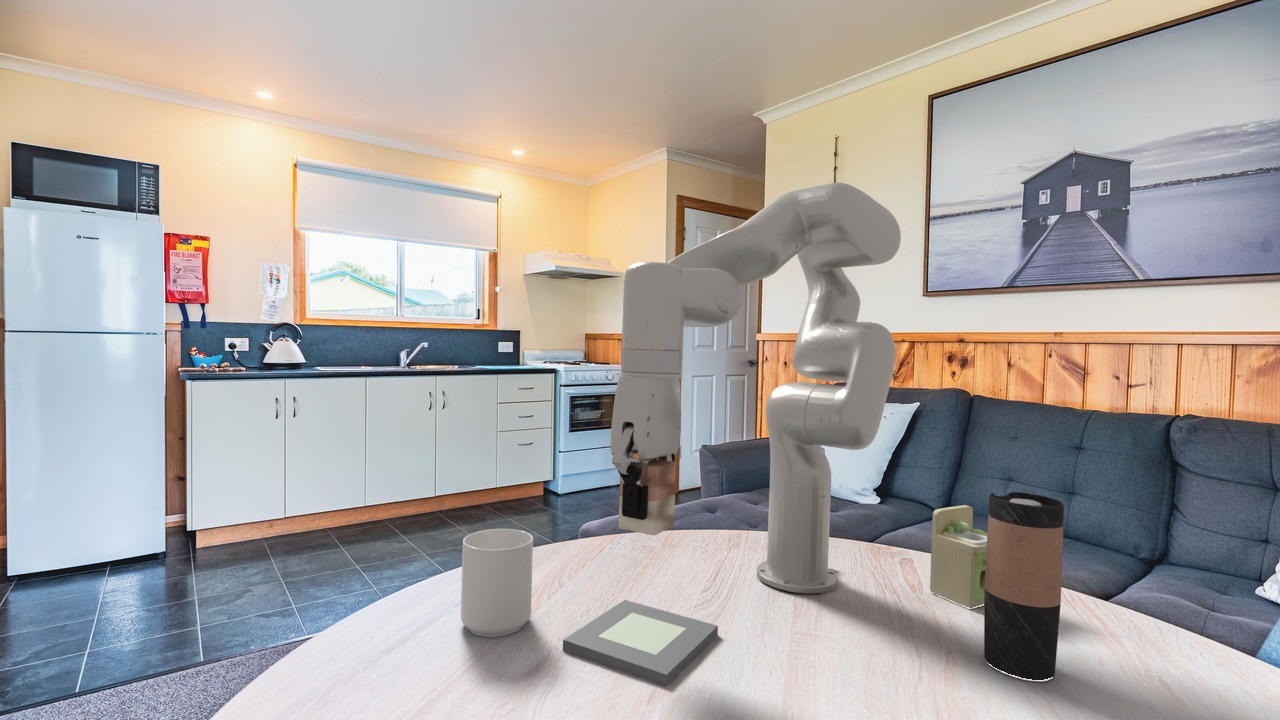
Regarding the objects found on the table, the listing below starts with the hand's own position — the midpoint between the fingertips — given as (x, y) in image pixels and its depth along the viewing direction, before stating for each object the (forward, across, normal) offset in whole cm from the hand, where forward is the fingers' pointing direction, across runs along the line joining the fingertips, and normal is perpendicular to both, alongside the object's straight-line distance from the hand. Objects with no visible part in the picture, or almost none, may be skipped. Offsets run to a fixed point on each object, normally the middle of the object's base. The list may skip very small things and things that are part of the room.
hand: (646, 511), depth 75 cm
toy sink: (+16, -40, +34) cm, 55 cm away
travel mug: (+16, -20, +40) cm, 48 cm away
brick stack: (+2, 0, 0) cm, 2 cm away
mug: (+17, +5, -19) cm, 26 cm away
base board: (+16, 0, 0) cm, 16 cm away
